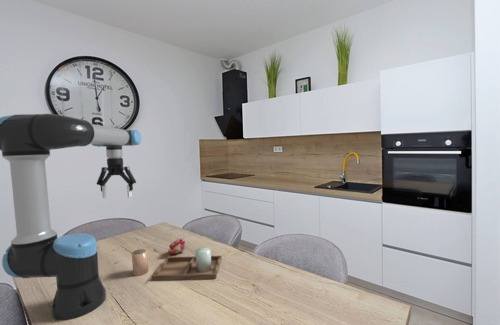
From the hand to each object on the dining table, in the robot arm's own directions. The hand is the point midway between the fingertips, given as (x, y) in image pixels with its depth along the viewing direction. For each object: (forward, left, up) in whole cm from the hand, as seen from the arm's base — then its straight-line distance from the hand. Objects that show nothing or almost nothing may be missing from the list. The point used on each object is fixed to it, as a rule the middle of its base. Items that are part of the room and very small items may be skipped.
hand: (117, 197), depth 130 cm
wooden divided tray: (-28, -45, -28) cm, 60 cm away
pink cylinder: (-28, -24, -28) cm, 46 cm away
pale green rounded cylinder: (-28, -51, -27) cm, 64 cm away
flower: (-11, -34, -28) cm, 45 cm away
